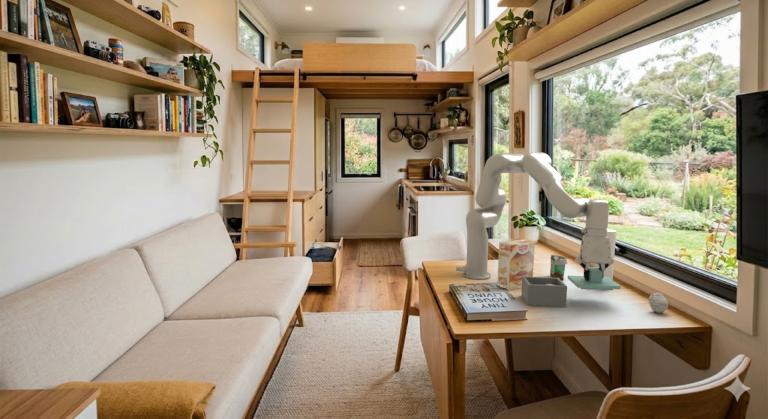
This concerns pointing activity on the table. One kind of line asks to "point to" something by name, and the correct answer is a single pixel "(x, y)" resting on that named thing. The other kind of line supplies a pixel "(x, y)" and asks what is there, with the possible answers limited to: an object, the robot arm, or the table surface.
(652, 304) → the grey rock
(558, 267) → the food container
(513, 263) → the coffeecake box
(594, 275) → the lid
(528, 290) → the storage box
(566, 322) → the table surface
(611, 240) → the cylindrical container
